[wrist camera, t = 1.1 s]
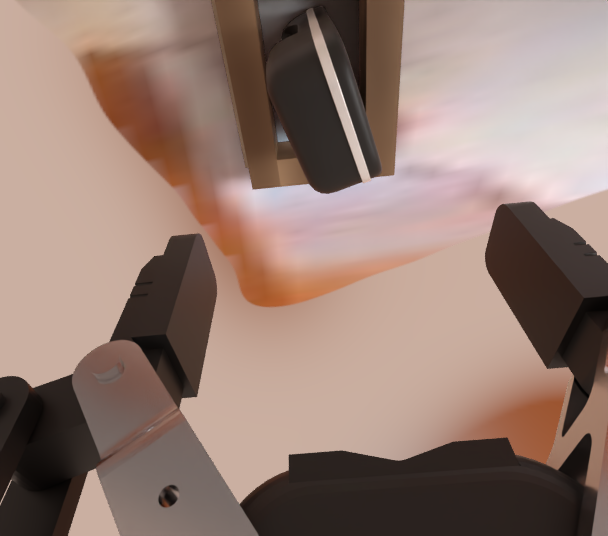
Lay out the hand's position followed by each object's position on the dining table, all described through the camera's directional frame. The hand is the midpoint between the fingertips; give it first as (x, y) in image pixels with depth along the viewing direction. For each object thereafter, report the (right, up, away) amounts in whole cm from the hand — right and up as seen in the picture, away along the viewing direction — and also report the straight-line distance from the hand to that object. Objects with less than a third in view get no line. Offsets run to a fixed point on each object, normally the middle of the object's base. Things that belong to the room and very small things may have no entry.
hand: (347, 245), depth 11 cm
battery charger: (-1, +12, +15) cm, 19 cm away
